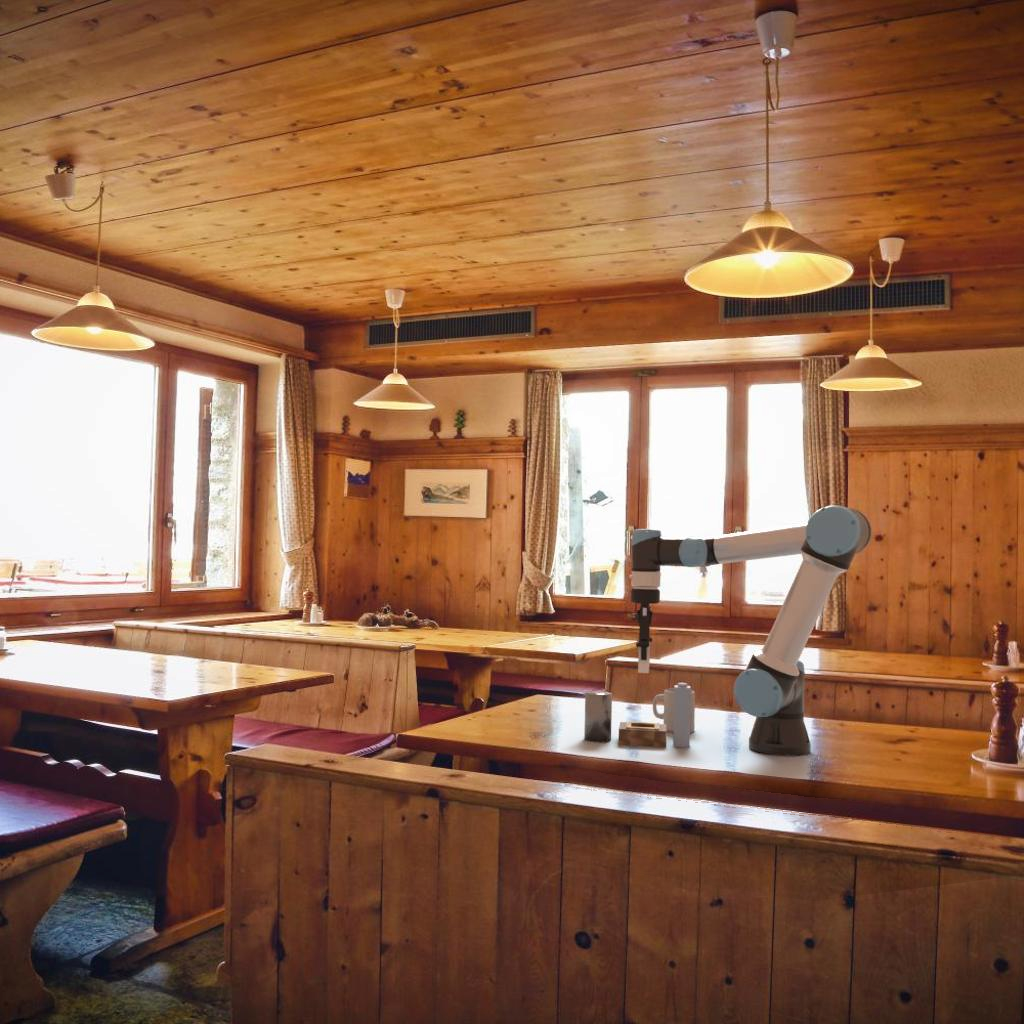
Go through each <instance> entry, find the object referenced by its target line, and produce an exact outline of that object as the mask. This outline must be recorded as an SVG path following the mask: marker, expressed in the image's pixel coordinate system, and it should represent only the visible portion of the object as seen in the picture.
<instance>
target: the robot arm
mask: <svg viewBox="0 0 1024 1024" xmlns="http://www.w3.org/2000/svg"><path fill="white" fill-rule="evenodd" d="M872 532H873V531H872V526H871V523H870V521H869V519H868V517H866V515H865V514H863V513H862V512H861V511H859V510H857V509H854V508H851V507H846V506H843V505H840V504H839V505H838V504H834V505H827V506H825V507H821V508H820V509H818V510H816V511H815V512H814V513H813V514H811V516H810V517H809V519H808V521H807V522H804V523H799V524H790V525H785V526H778V527H777V526H775V527H770V528H764V529H758V530H757V529H756V530H749V531H748V530H747V531H743V532H736V533H735V532H734V533H728V534H722V535H715V536H706V537H696V536H688V537H687V536H682V537H681V536H677V537H676V536H675V537H674V536H670V537H669V536H667V537H666V536H663V535H662V531H661V530H660V529H655V528H654V529H653V528H637V529H634V530H633V531H632V538H631V539H632V540H631V546H630V547H631V574H629V575H628V578H629V579H630V580H631V584H630V585H631V587H633V588H631V589H630V602H631V603H633V604H640V606H639V609H637V610H636V611H637V612H636V613H637V614H636V615H637V616H636V617H637V625H638V626H639V628H638V629H639V633H638V638H639V639H638V642H636V643H635V644H636V645H635V647H636V648H638V650H637V651H638V656H637V657H638V659H637V661H638V662H637V673H638V674H649V673H650V658H651V657H650V655H651V654H650V652H651V647H650V646H651V645H650V644H651V643H652V642H653V637H651V636H650V633H651V631H650V629H651V626H652V619H653V612H654V611H653V609H652V610H651V605H650V604H652V605H655V604H656V605H657V604H659V603H660V601H661V590H660V589H658V588H660V587H661V566H662V567H663V566H664V567H668V566H669V567H682V568H683V567H686V568H696V567H697V568H705V567H710V566H714V565H715V566H716V565H723V564H728V563H729V564H730V563H738V562H744V561H745V562H746V561H755V560H763V559H769V558H770V559H771V558H778V557H786V556H794V555H796V556H797V555H801V557H802V562H801V564H800V566H799V568H798V570H797V573H796V575H795V576H794V580H793V581H792V583H791V586H790V587H789V590H788V593H787V595H786V597H785V599H784V601H783V602H782V603H783V604H782V605H781V607H780V610H779V612H778V614H777V616H776V619H775V620H774V623H773V625H772V627H771V630H770V632H769V634H768V636H767V639H766V641H765V643H764V644H763V647H762V648H761V649H759V650H756V651H754V652H753V654H752V655H751V658H750V660H749V662H748V663H747V667H746V669H745V670H743V671H742V672H741V673H739V675H738V676H737V677H736V679H735V682H734V685H733V694H734V695H733V696H734V699H735V701H736V703H737V705H738V706H739V707H740V709H741V710H742V711H744V712H745V713H746V714H748V715H749V716H753V717H755V720H754V723H753V726H752V729H751V733H750V736H749V739H748V748H749V749H750V750H752V751H754V752H758V753H763V754H766V755H767V754H768V755H774V756H775V755H776V756H804V755H807V754H808V755H809V754H810V753H811V751H812V750H811V749H812V748H811V747H812V745H811V741H810V738H809V733H808V730H807V727H806V724H805V718H804V717H805V676H806V672H805V665H804V663H803V661H802V660H799V659H800V658H801V656H802V653H803V651H804V649H805V647H806V645H807V643H808V640H809V638H810V636H811V634H812V632H813V630H814V628H815V626H816V623H817V621H818V619H819V616H820V615H821V612H822V610H823V609H824V605H825V604H826V602H827V599H828V597H829V596H830V593H831V591H832V589H833V586H834V585H835V583H836V580H837V578H838V576H839V575H841V574H843V573H846V572H848V570H849V568H850V567H851V564H852V562H853V560H854V558H855V556H856V555H857V554H860V553H861V552H862V551H863V550H865V549H866V547H867V546H868V545H869V543H870V541H871V539H872V534H873V533H872Z"/></svg>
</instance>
